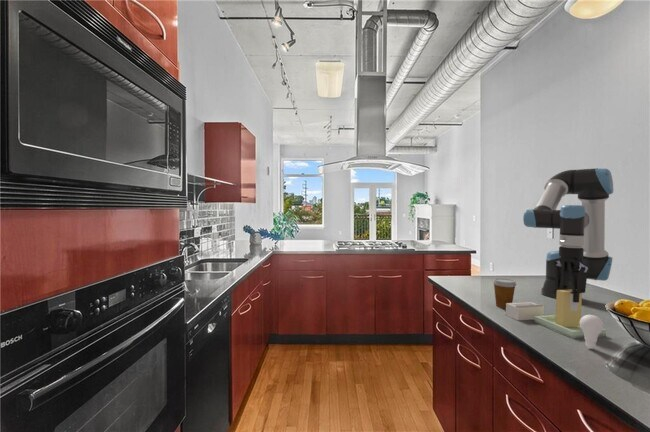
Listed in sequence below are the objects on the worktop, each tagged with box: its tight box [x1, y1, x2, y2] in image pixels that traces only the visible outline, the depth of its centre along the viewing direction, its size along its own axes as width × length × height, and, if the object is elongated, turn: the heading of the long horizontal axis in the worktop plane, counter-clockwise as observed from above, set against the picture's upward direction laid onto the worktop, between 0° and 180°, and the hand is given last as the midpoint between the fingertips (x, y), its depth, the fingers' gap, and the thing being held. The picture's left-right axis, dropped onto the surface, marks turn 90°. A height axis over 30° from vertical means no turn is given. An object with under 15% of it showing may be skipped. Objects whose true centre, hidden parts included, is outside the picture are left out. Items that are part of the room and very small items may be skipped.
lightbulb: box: [580, 314, 604, 350], centre depth 113 cm, size 6×6×11 cm
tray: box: [534, 314, 607, 339], centre depth 132 cm, size 14×17×2 cm
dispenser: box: [505, 301, 545, 321], centre depth 145 cm, size 12×7×6 cm, turn 101°
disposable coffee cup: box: [492, 277, 517, 309], centre depth 160 cm, size 10×10×12 cm
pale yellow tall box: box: [555, 290, 583, 327], centre depth 131 cm, size 8×3×13 cm, turn 101°
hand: (569, 308), depth 131 cm, fingers closed on pale yellow tall box, 3 cm apart
